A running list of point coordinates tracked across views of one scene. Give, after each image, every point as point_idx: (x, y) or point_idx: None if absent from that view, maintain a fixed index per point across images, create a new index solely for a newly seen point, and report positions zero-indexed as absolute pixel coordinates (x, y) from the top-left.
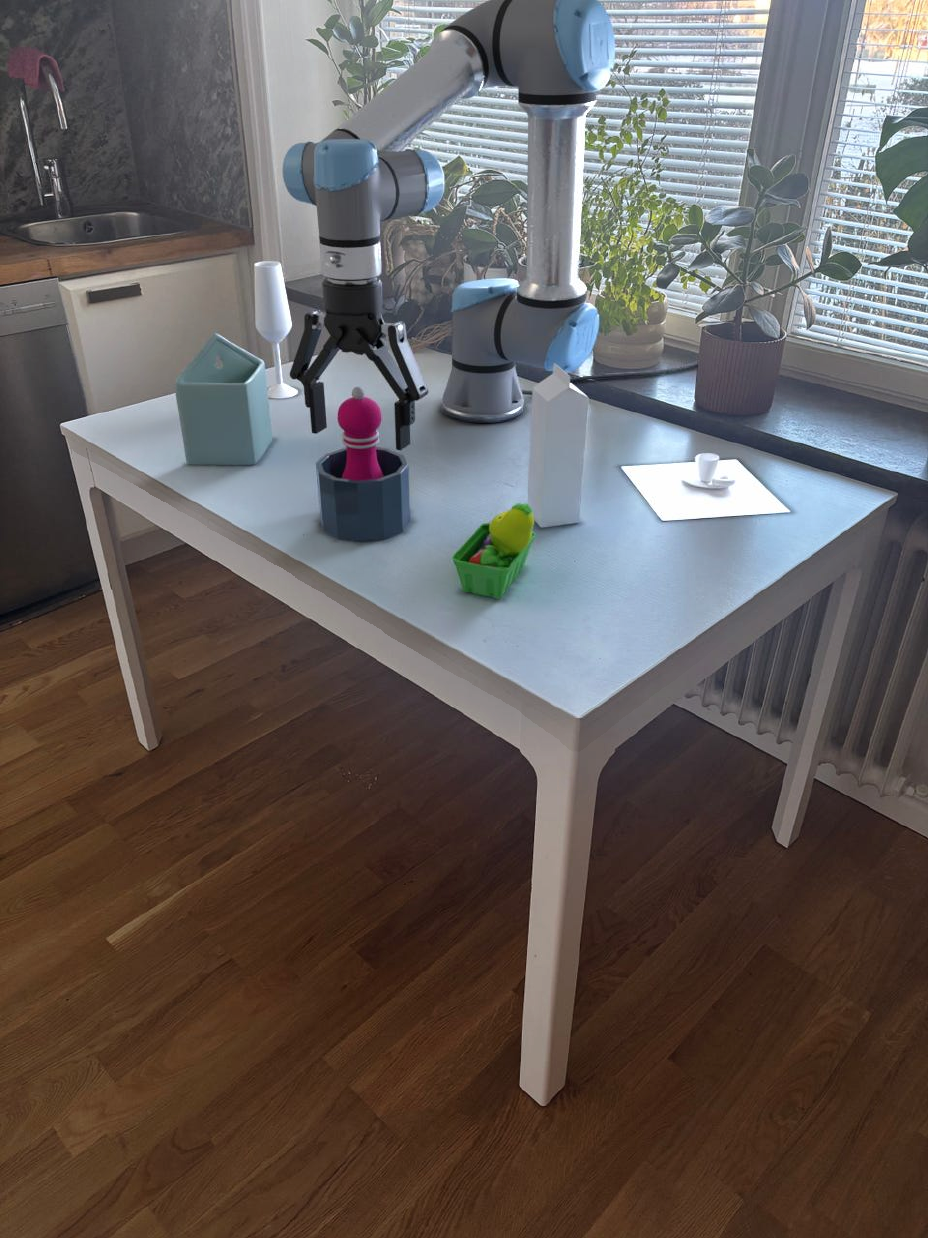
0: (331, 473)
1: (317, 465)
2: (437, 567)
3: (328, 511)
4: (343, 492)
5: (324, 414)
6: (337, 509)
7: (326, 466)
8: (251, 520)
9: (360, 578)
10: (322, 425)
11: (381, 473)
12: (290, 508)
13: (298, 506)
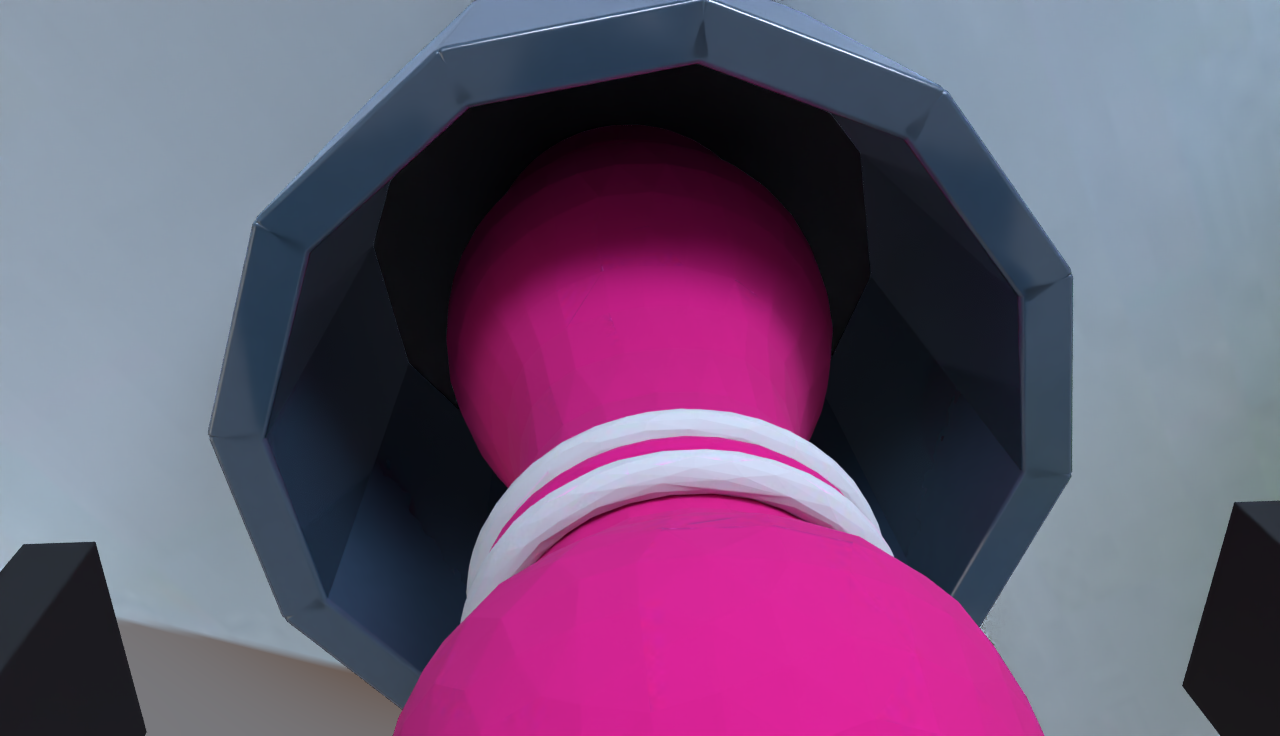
0: (311, 352)
1: (332, 648)
2: (1209, 510)
3: None
4: None
5: (9, 701)
6: None
7: (313, 477)
8: (31, 539)
9: None
10: (91, 660)
11: (803, 347)
12: (93, 321)
13: (113, 275)
